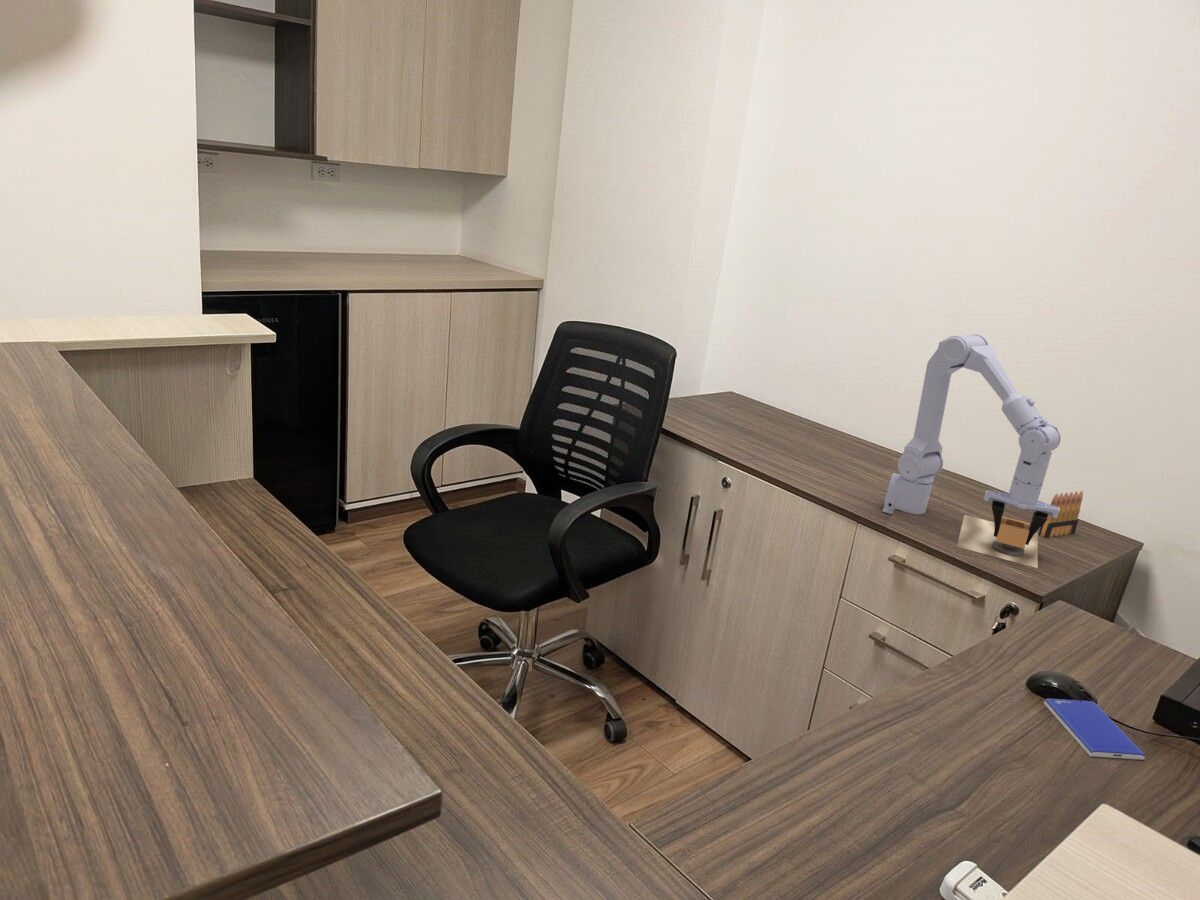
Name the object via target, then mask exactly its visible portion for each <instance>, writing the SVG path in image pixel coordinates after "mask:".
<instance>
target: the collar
mask: <svg viewBox="0 0 1200 900" xmlns="http://www.w3.org/2000/svg"><path fill="white" fill-rule="evenodd" d="M1012 525H1015V526H1012ZM1030 525H1031V522H1026V521H1022V520H1019V519H1014V518H1011V517H1007V516H1004V515H1002V518H1001V522H1000V526H999V531H998V535H997V537H996V541H997V542H1001V543H1004V544H1008V545H1012V546H1016V547H1020V548H1023V549H1024V548H1025V544H1026V541H1027V538H1028V534H1029V528H1030ZM1016 526H1018V527H1016Z"/></svg>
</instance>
